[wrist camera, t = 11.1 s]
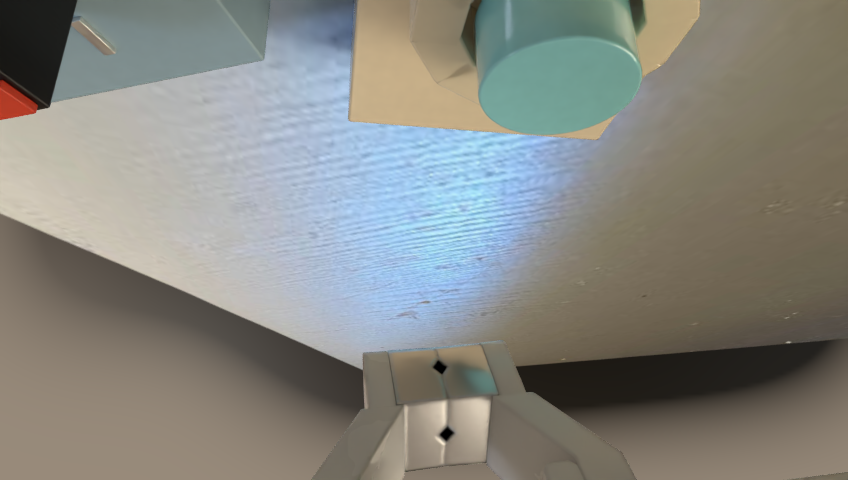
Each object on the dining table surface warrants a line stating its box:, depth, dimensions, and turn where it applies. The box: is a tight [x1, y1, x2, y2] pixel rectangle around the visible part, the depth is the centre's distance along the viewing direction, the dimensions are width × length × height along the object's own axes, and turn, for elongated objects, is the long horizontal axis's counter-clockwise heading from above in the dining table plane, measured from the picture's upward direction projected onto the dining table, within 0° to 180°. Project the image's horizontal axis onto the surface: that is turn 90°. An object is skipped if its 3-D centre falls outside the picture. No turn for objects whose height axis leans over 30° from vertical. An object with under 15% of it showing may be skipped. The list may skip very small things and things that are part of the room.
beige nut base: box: [348, 0, 701, 140], centre depth 18 cm, size 11×9×5 cm
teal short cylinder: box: [474, 0, 642, 135], centre depth 15 cm, size 4×4×2 cm
